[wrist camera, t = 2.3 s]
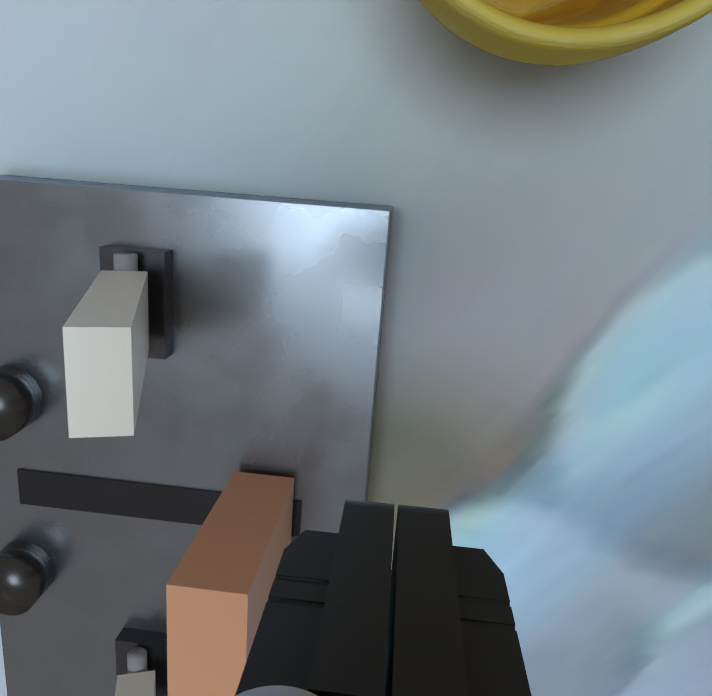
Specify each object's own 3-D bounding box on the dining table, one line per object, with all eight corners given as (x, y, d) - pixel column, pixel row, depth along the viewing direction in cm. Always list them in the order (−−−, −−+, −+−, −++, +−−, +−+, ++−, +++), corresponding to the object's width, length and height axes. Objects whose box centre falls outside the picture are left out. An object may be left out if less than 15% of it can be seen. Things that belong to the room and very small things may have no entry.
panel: (392, 206, 25) (387, 214, 21) (348, 710, 32) (337, 794, 28) (5, 175, 26) (-76, 176, 22) (45, 669, 33) (-11, 743, 29)
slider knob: (294, 477, 25) (248, 594, 18) (290, 565, 26) (244, 706, 19) (234, 471, 25) (166, 584, 18) (232, 558, 26) (167, 696, 19)
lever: (148, 253, 23) (129, 306, 15) (150, 354, 24) (134, 453, 16) (103, 251, 22) (61, 306, 14) (107, 354, 23) (69, 456, 16)
